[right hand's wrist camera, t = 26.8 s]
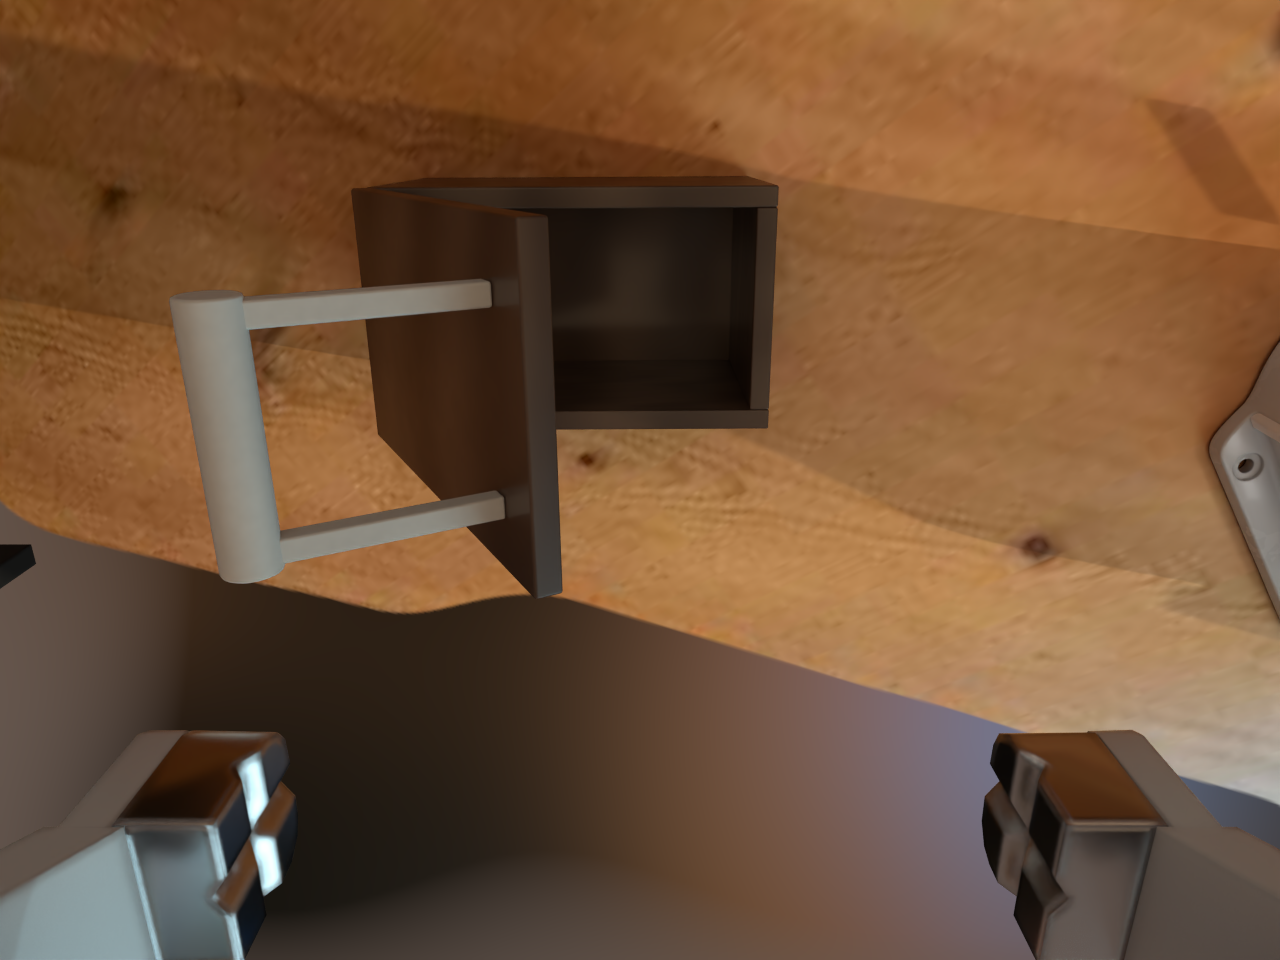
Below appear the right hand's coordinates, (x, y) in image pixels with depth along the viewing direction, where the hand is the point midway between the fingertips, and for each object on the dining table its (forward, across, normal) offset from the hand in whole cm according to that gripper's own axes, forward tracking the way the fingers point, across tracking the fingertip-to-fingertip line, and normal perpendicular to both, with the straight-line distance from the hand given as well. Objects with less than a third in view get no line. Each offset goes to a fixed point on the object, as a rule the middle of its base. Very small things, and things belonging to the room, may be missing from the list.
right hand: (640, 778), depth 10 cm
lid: (+22, +7, 0) cm, 23 cm away
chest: (+41, +3, 0) cm, 41 cm away
